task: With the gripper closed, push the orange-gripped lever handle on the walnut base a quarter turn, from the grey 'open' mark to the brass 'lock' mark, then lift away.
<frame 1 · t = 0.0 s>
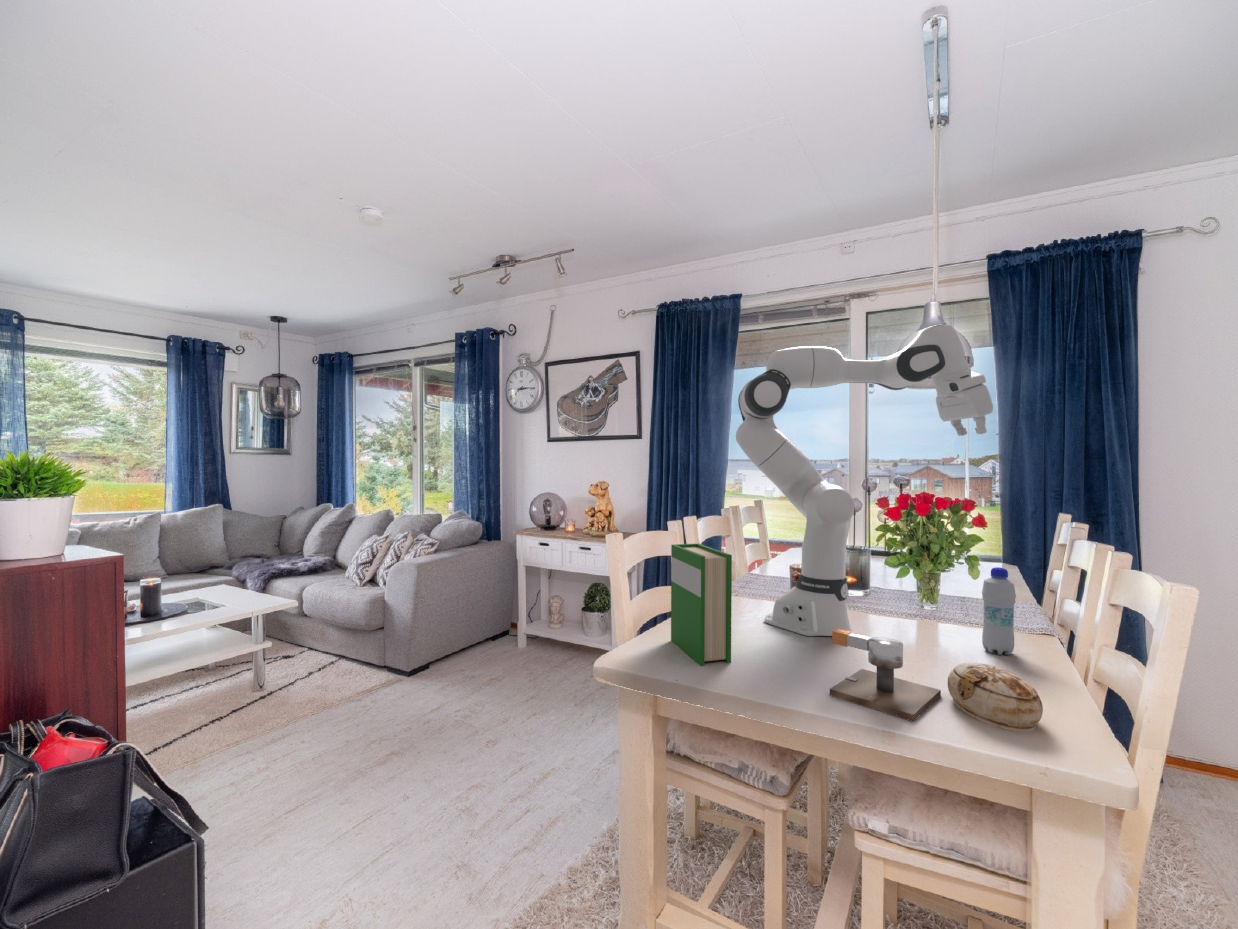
hand: (972, 434, 145), 52 cm above the table, tool tilted 20°, fingers open, 8 cm apart
trinket box: (992, 714, 101), on the table
lever handle: (866, 647, 110), point 8 cm above the table, hinge at 0.0°
bottle: (997, 652, 132), on the table
hardback book: (699, 652, 132), on the table
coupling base: (884, 695, 107), on the table
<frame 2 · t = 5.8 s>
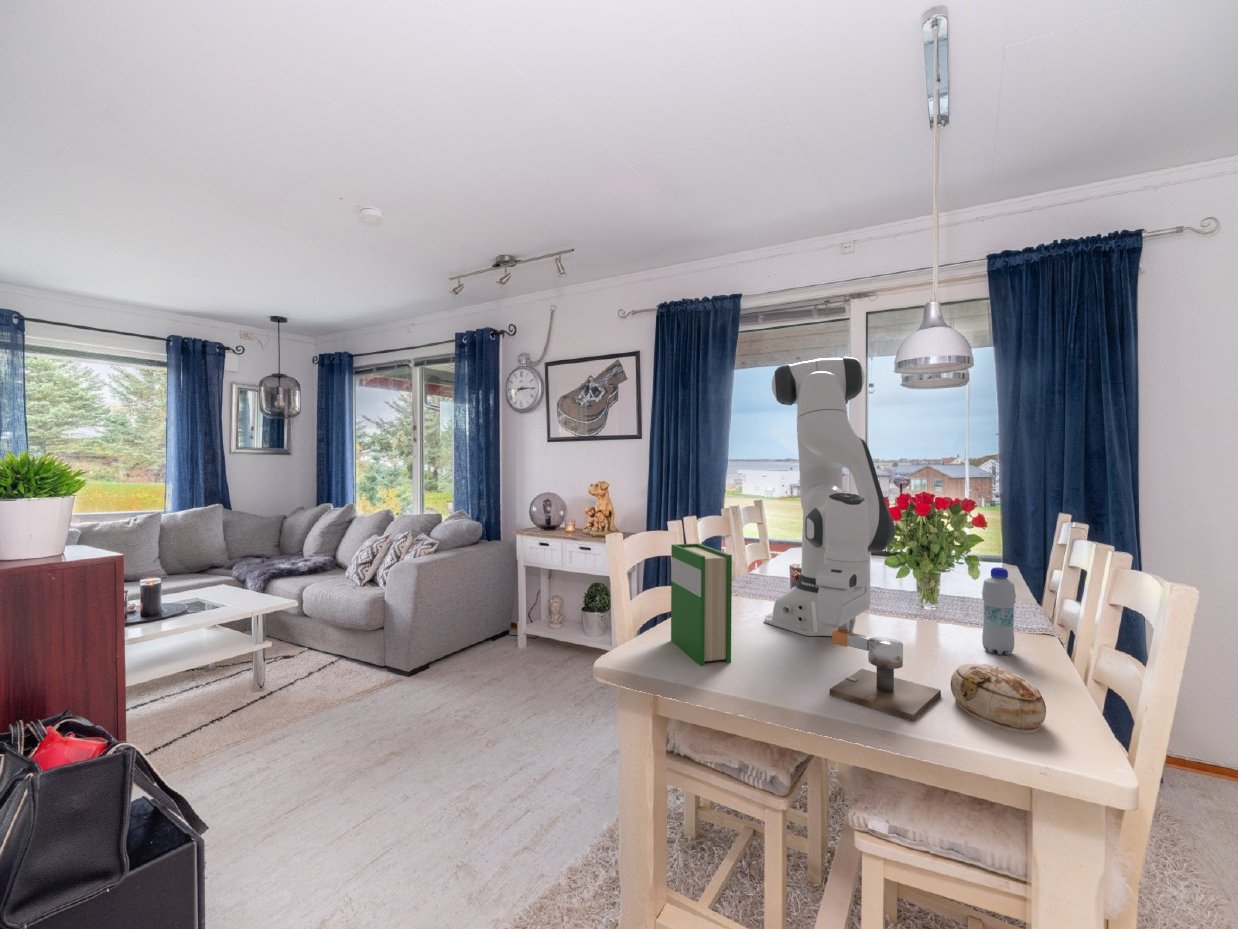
hand: (846, 639, 116), 8 cm above the table, tool pointing down, fingers closed
lever handle: (866, 647, 110), point 8 cm above the table, hinge at 0.0°, touching gripper
everything else where it was.
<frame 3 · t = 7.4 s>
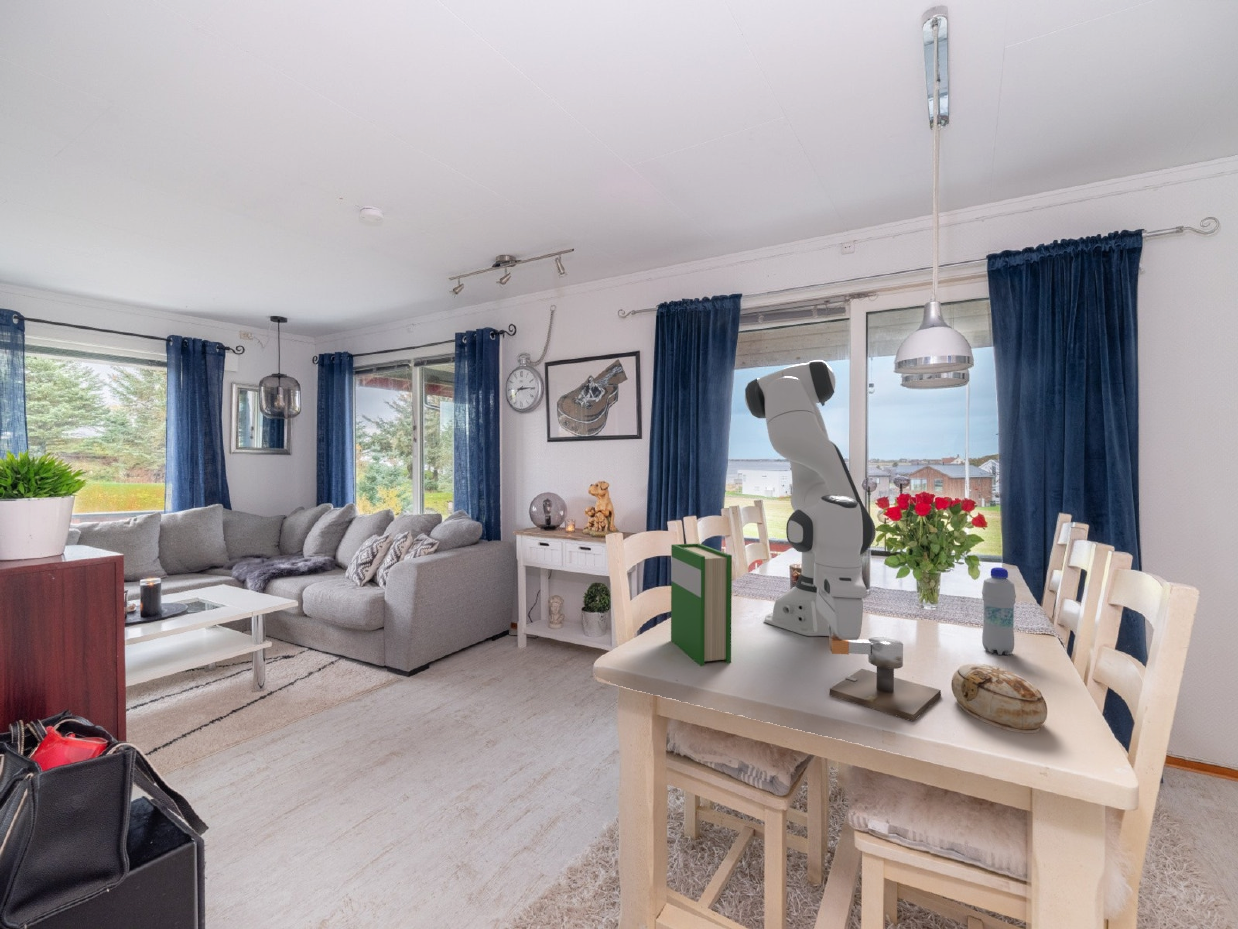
hand: (835, 647, 111), 8 cm above the table, tool pointing down, fingers closed
lever handle: (866, 651, 108), point 8 cm above the table, hinge at 38.1°, touching gripper
everything else where it was.
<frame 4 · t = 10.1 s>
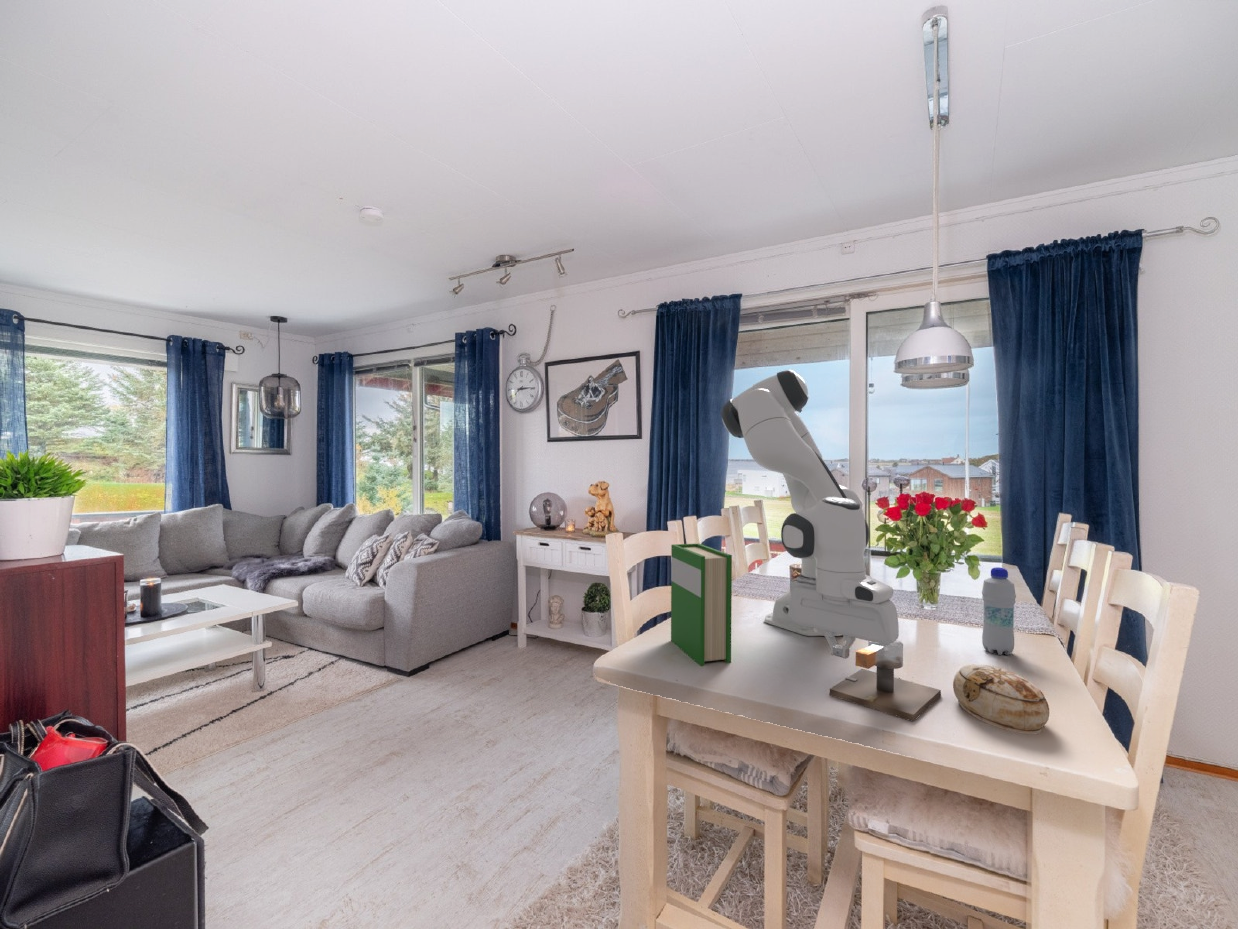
hand: (839, 656, 106), 8 cm above the table, tool pointing down, fingers closed
lever handle: (877, 656, 105), point 8 cm above the table, hinge at 87.8°
everything else where it was.
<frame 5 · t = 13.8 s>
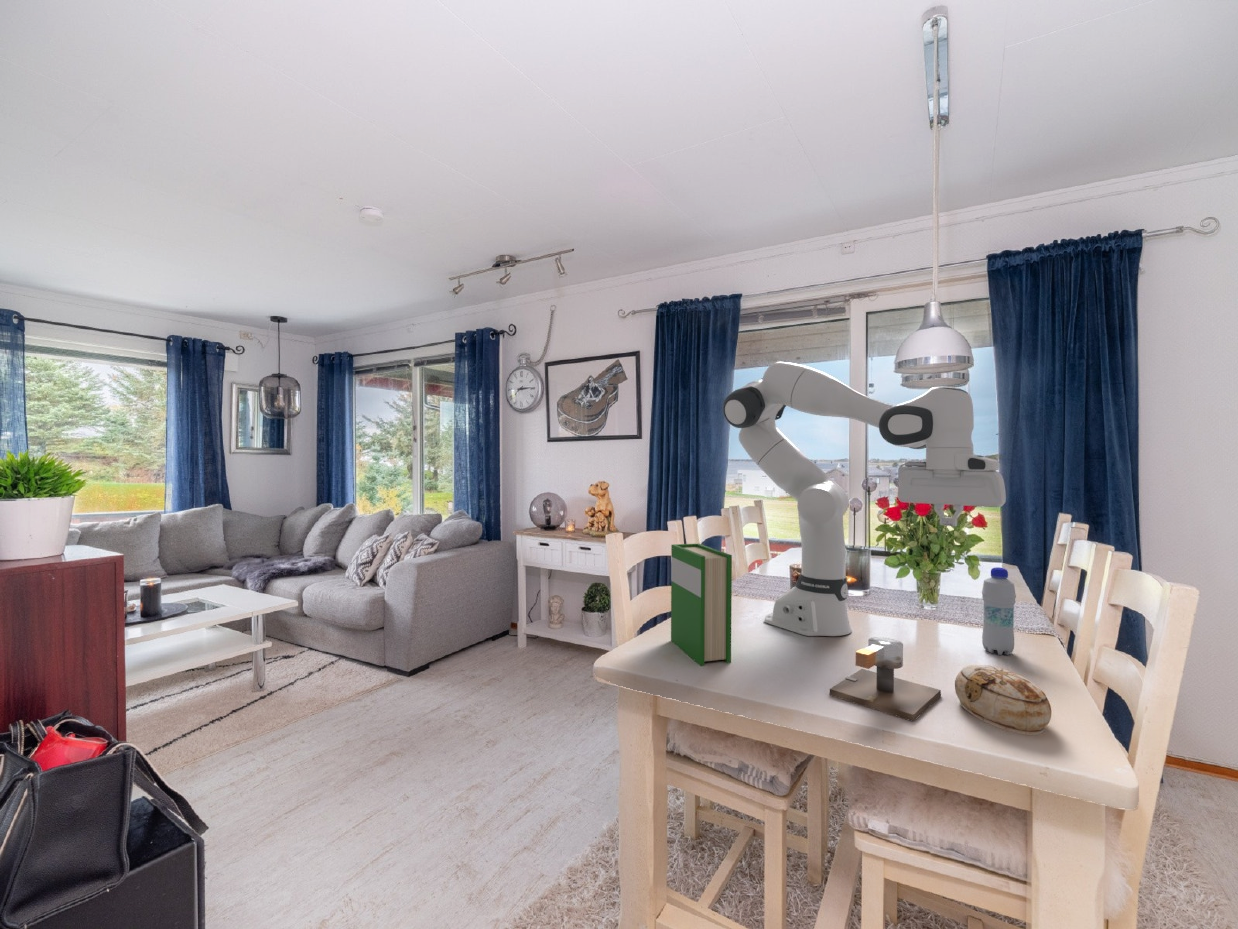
hand: (948, 525, 121), 31 cm above the table, tool pointing down, fingers closed
at the end: lever handle at +88° (first picture: +0°); trinket box moved 1.3 cm from its start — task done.
